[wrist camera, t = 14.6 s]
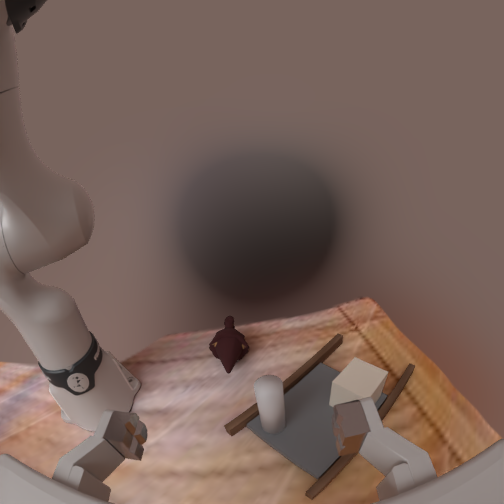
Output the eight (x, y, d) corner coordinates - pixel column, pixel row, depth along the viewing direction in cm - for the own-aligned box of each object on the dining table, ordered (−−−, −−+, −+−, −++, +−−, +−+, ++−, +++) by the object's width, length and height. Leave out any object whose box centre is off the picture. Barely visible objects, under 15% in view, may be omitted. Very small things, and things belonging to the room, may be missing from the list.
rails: (226, 431, 34) (224, 425, 34) (337, 340, 51) (337, 333, 50) (312, 499, 22) (313, 496, 21) (412, 373, 38) (415, 365, 37)
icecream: (253, 358, 41) (248, 313, 56) (207, 354, 41) (213, 309, 55) (248, 387, 43) (245, 340, 58) (205, 384, 43) (211, 337, 57)
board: (247, 427, 35) (235, 385, 31) (320, 366, 45) (322, 318, 41) (317, 479, 25) (325, 449, 21) (386, 398, 35) (402, 351, 31)
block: (329, 404, 36) (332, 381, 33) (350, 381, 39) (354, 357, 37) (360, 422, 31) (367, 399, 29) (380, 395, 35) (388, 371, 32)
